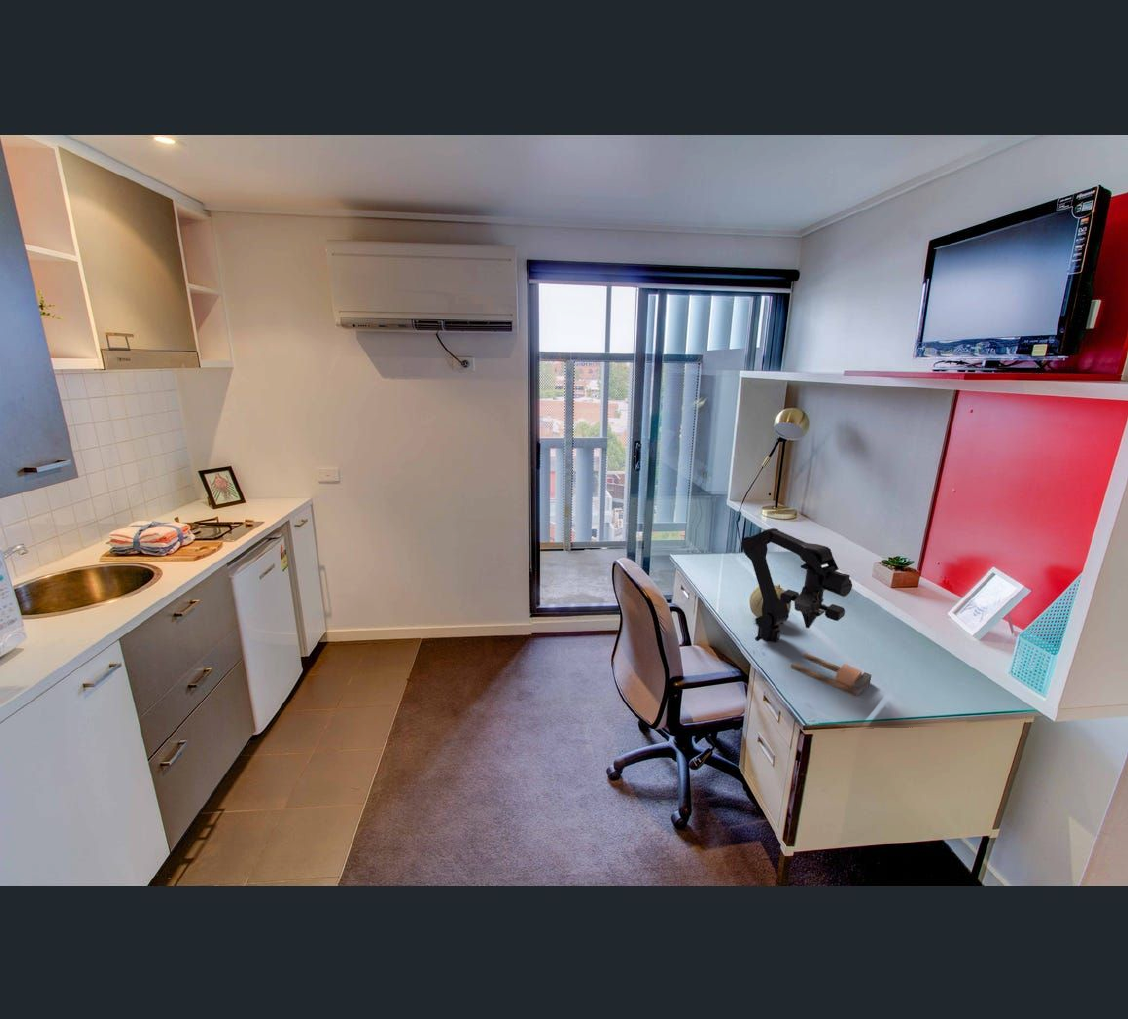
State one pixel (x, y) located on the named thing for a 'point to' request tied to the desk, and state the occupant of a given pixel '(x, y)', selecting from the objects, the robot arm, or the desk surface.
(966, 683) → the desk surface
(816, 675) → the channel
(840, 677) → the block
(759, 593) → the cantaloupe
